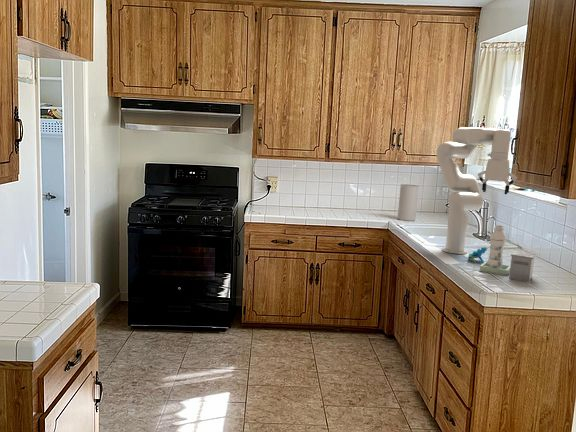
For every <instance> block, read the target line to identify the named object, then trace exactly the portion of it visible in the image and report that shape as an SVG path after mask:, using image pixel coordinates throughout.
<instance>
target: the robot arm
mask: <svg viewBox="0 0 576 432" xmlns="http://www.w3.org/2000/svg"><path fill="white" fill-rule="evenodd" d="M511 134H512V133H511V131H510V130H509V129H502V128H501V129H500V128H499V129H498V128H488V127H487V128H486V127H463V126H462V127H458V128H456V129H455V130H454V131H453V132H452V139H453V141H454V142H453V141H444V142H441V143H440V144H438V146H437V150H436V160H437V162H438V165H439V167H440V169H441V170H442V173H443V177H444V180H445V184H446V187H447V189H448V191H450V192H452V193H450V195H449V197H448V220H447V231H446V239H445V246H444V247H442V249H441V250H442V251H443V252H445V253H448V254H449V253H450V254H456V255H465V254H467V253H468V250H467V249H465V245H466V236H467V228H468V216H467V214H466V212H465V211H479V210H480V209H481V208H482V207H483V204H484V199H483V195H482V192H483V193H486V191H487V185H488V184H487V182H488V181H495V182H504V183H505V184H506V185H505V187H504V195H507V194H508V193H509V192H510V186H511V185H512V184H513V183H515V181H516V180H517V178H518V177H517V175H515V174H513V173H512V172H510V160H509V151H510V143H511ZM479 145H490V146H491V150H490V152H488V153H487V156H488V157H490V158H488V159H487V162H486V167H485V170H484V171H481V172H478V173H477V177H478V179H479V181H480V182H481V184H482V187H481V189H480V187H479V183H478V182H479V181H478V180H477V178H476V177H475V176H474V175H471V174H463V173H462V172H461V171H460V167H459V165H458V164H457V162H455V161H454V160H453V159H468V158H469V157H470V156H471V155H472V153H474V151H475V150H476V148H477V147H478V146H479ZM483 175H484V177H483ZM510 177H511V180H510V181H509V178H510ZM481 190H482V192H481Z"/></svg>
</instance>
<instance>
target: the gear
mask: <svg viewBox="0 0 576 432" xmlns="http://www.w3.org/2000/svg"><path fill="white" fill-rule="evenodd" d="M486 251H488V249H487V247H481V248H477V249H476V251H475V250H474V251H473V252H472V253H469V254H468V256H467V259H468V260H471V259H472V261H473V262H475V263H477V261H476V259H479V260H480V262H481V263H484V262H485V261H484V259H483V258H482V255H483V254H485V253H486ZM475 263H474V264H475Z"/></svg>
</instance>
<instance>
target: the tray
mask: <svg viewBox="0 0 576 432" xmlns="http://www.w3.org/2000/svg"><path fill="white" fill-rule="evenodd" d="M487 262H488V261H484V262H482V263H481V265H479V271H480V272H485V273H489V274H495V275H501V276H509V274H510V266H511V265H508V264H503V266H502V268H501V269H498V268H492V267H488V266H487Z"/></svg>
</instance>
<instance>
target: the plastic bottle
mask: <svg viewBox="0 0 576 432" xmlns="http://www.w3.org/2000/svg"><path fill="white" fill-rule="evenodd" d="M504 228H505V227H504V225H495V226H494V231H493V232H492V233H491V234H490V238H489V239H490V243H489V244H490V246H489V247H490V249H489V256H488V259H487V261H486V262H487V266H488V267H492V268H498V269H501V268H502V266H503V265H504V263H503V255H504V254H503V251H504V247H505V243H506V235H505V233H504V230H505V229H504Z"/></svg>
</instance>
